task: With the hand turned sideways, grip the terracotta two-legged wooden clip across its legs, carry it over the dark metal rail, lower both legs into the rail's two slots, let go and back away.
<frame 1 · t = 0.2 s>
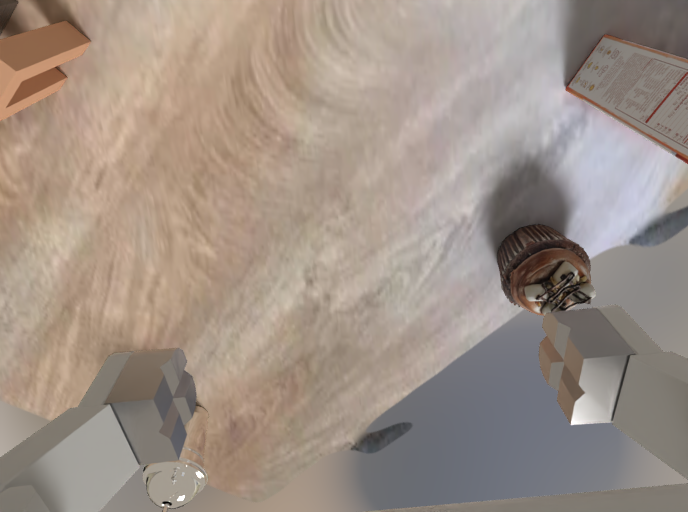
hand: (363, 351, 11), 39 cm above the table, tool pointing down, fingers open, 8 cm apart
cracker box: (636, 91, 46), on the table
cupcake: (529, 251, 56), on the table
cup with straw: (195, 413, 71), on the table
clip: (62, 56, 43), on the table
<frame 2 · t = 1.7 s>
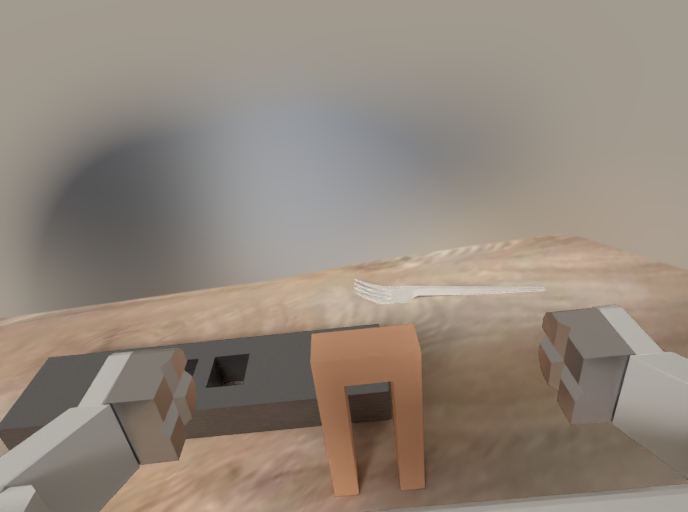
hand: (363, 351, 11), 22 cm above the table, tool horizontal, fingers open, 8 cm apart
clip: (378, 476, 32), on the table
rail: (211, 398, 40), on the table
fork: (448, 297, 50), on the table
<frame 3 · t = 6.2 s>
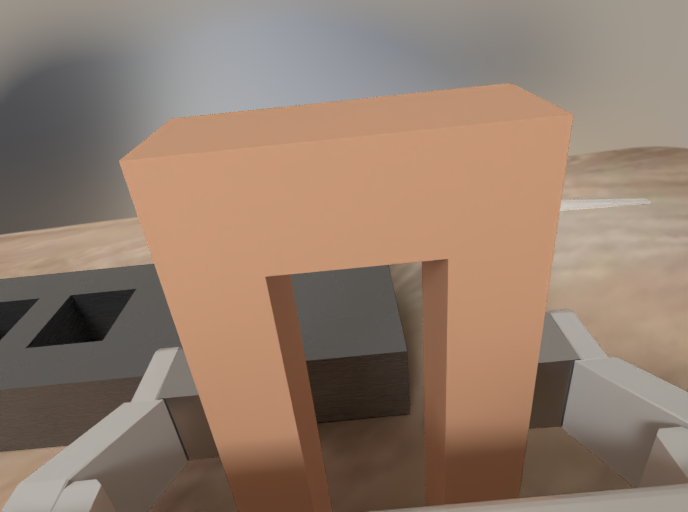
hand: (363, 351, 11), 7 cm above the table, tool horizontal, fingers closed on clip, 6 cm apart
rail: (61, 374, 21), on the table
fork: (492, 220, 31), on the table
when the fingers open (8 cm above the table, at t = 11.8 s): clip drops 1 cm, on the table.
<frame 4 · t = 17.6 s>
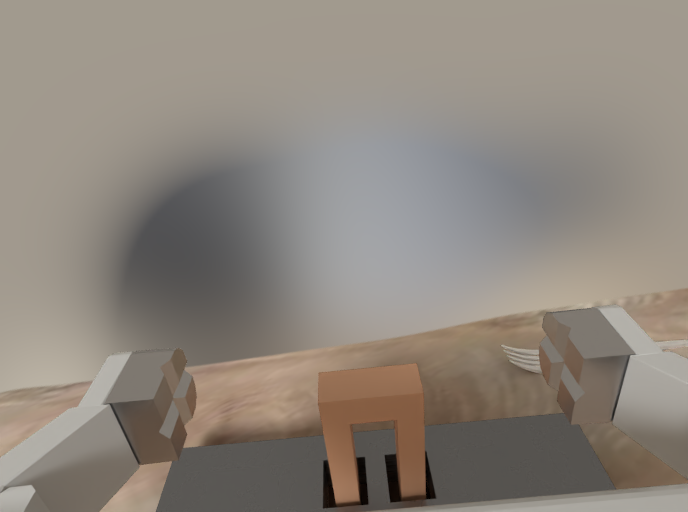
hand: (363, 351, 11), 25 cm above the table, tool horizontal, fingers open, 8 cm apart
clip: (381, 505, 34), on the table
rail: (379, 505, 34), on the table
fork: (607, 357, 45), on the table
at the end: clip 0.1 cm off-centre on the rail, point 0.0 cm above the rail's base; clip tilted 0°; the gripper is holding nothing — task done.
